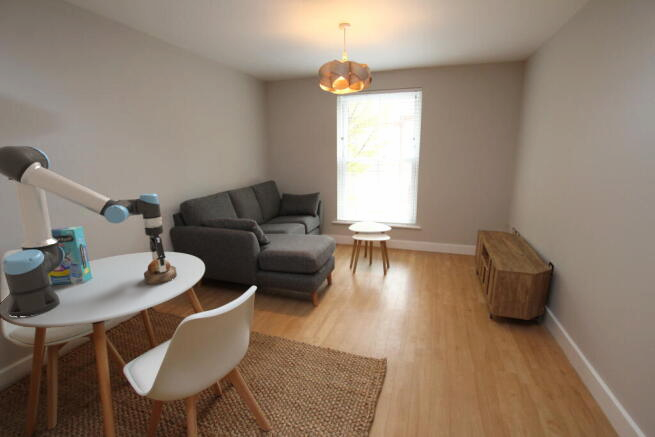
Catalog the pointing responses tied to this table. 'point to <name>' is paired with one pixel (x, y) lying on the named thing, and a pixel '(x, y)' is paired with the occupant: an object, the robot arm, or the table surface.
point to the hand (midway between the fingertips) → (159, 267)
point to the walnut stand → (160, 276)
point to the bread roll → (157, 267)
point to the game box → (71, 257)
